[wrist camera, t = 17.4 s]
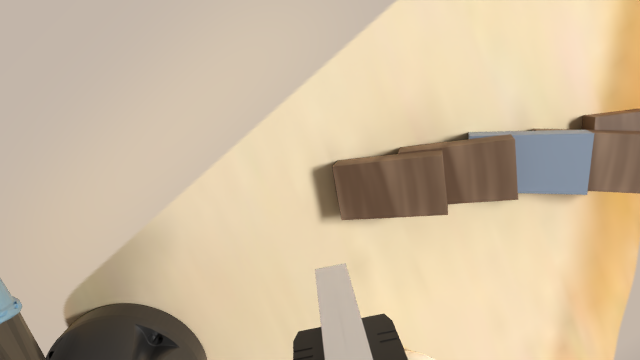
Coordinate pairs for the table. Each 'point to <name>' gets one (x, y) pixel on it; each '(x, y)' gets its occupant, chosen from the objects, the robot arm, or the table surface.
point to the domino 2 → (477, 168)
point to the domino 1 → (391, 186)
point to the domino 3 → (550, 160)
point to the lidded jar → (417, 356)
